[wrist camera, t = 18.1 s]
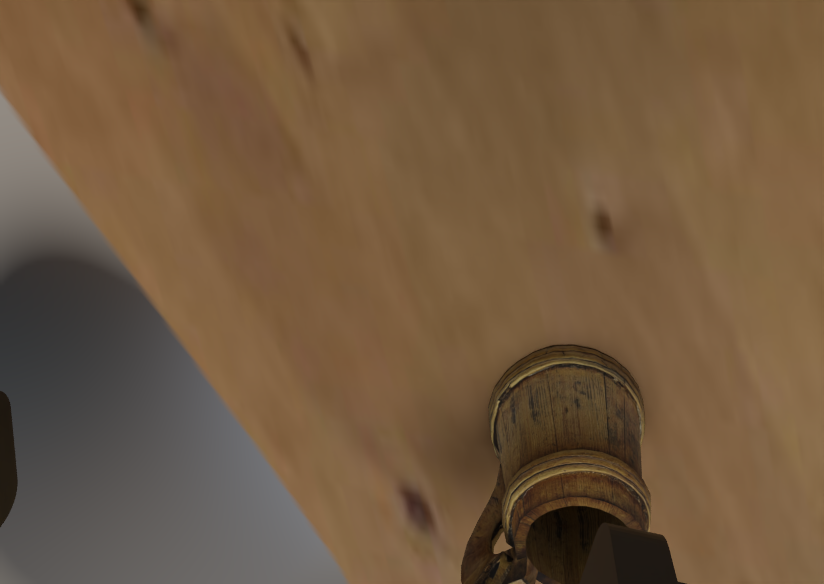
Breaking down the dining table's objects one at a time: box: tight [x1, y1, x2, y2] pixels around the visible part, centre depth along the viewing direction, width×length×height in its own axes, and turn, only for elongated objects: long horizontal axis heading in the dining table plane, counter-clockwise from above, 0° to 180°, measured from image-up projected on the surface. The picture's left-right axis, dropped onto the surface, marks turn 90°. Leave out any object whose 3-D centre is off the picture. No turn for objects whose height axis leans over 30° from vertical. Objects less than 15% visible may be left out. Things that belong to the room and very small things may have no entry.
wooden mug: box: [461, 346, 651, 584], centre depth 36 cm, size 9×14×18 cm, turn 125°
